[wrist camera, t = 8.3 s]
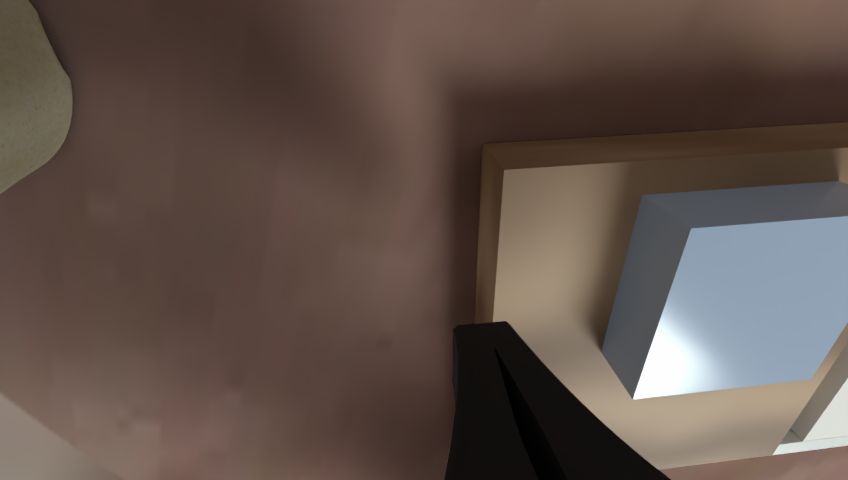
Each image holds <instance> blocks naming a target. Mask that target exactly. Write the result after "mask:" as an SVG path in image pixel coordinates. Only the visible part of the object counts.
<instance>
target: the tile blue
mask: <svg viewBox="0 0 848 480" xmlns="http://www.w3.org/2000/svg"><path fill="white" fill-rule="evenodd" d="M847 323H848V184H846V183H843V182H841V181H831V182H817V183H803V184H789V185H775V186H762V187H748V188H734V189H720V190H706V191H692V192H678V193H664V194H650V195H642V198H641V201H640V205H639V209H638V213H637V217H636V220H635V224H634V228H633V232H632V236H631V240H630V243H629V247H628V251H627V255H626V259H625V263H624V266H623V270H622V274H621V278H620V282H619V286H618V289H617V293H616V297H615V301H614V305H613V308H612V312H611V316H610V320H609V324H608V328H607V331H606V335H605V339H604V343H603V347H602V351H601V353H602V354H603V356H604V357H605V359H606V360H607V362H608V363H609V365H610V366H611V368H612V369H613V371H614V372H615V374H616V375H617V377H618V378H619V380H620V381H621V383H622V384H623V386H624V387H625V389H626V390H627V392H628V393H629V395H630V396H631V398H632V399H642V398H651V397H660V396H669V395H678V394H686V393H695V392H704V391H713V390H722V389H731V388H740V387H748V386H757V385H766V384H775V383H784V382H793V381H801V380H810V379H811V378H812V377H813V375H814V374H815V372H816V371H817V369H818V368H819V366H820V365H821V363H822V361H823V360H824V358H825V357H826V355H827V354H828V352H829V351H830V349H831V348H832V346H833V345H834V343H835V341H836V340H837V338H838V337H839V335H840V334H841V332H842V331H843V329H844V328H845V326H846V324H847Z"/></svg>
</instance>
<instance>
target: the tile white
mask: <svg viewBox="0 0 848 480" xmlns="http://www.w3.org/2000/svg"><path fill="white" fill-rule="evenodd" d="M790 429H791V430H792V431H793V432H794V433H795V434H796V435H797V436H798V437H799V438H800V439H801V440H802V441H809V440H817V439H825V438H833V437H841V436H848V343H847V344H846V346H845V347H844V349H843V350H842V352H841V353H840V355H839V356H838V358H837V359H836V361H835V362H834V364H833V365H832V367H831V368H830V370H829V371H828V373H827V374H826V376H825V377H824V379H823V380H822V382H821V383H820V385H819V386H818V388H817V389H816V391H815V392H814V394H813V395H812V397H811V398H810V400H809V401H808V403H807V404H806V406H805V407H804V409H803V410H802V412H801V413H800V415H799V416H798V418H797V419H796V421H795V422H794V424H793V425H792V427H791V428H790Z"/></svg>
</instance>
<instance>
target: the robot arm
mask: <svg viewBox="0 0 848 480" xmlns="http://www.w3.org/2000/svg"><path fill="white" fill-rule="evenodd" d="M452 381H453V388H454V396H455V407H456V410H455V418H454V426H453V434H452V441H451V447H450V453H449V459H448V464H447V470H446V475H445V480H671V479H669V478H668V477H667V476H666V475H664V474H663V473H662V472H661V471H659V470H658V469H657V468H655V467H654V466H653V465H652V464H650V463H649V462H648V461H647V460H646V459H644V458H643V457H642V456H641V455H640V454H638V453H637V452H636V451H635V450H634V449H632V448H631V447H630V446H629V445H628V444H626V443H625V442H624V441H623V440H622V439H621V438H619V437H618V436H617V435H616V434H615V433H614V432H613V431H612V430H610V429H609V428H608V427H607V426H606V425H605V424H604V423H603V422H602V421H601V420H600V419H598V418H597V417H596V416H595V415H594V414H593V413H592V412H591V411H590V410H589V409H588V408H587V407H586V406H585V405H584V404H583V403H582V402H581V401H580V400H579V399H578V398H577V397H576V396H575V395H574V394H573V393H572V392H571V391H570V390H569V389H568V388H567V387H566V386H565V385H564V384H563V383H562V382H561V381H560V380H559V379H558V378H557V377H556V376H555V375H554V374H553V373H552V372H551V371H550V370H549V369H548V367H547V366H546V365H545V364H544V363H543V362H542V361H541V360H540V359H539V358H538V356H537V355H536V354H535V353H534V352H533V351H532V350H531V349H530V347H529V346H528V345H527V344H526V343H525V342H524V340H523V339H522V338H521V337H520V336H519V335H518V333H517V332H516V331H515V330H514V329H513V327H512V326H511V325H510V324H509V323H508V322H507V321H500V322H490V323H479V324H469V325H458V326H457V327H455V328H454V329H453V378H452Z"/></svg>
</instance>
